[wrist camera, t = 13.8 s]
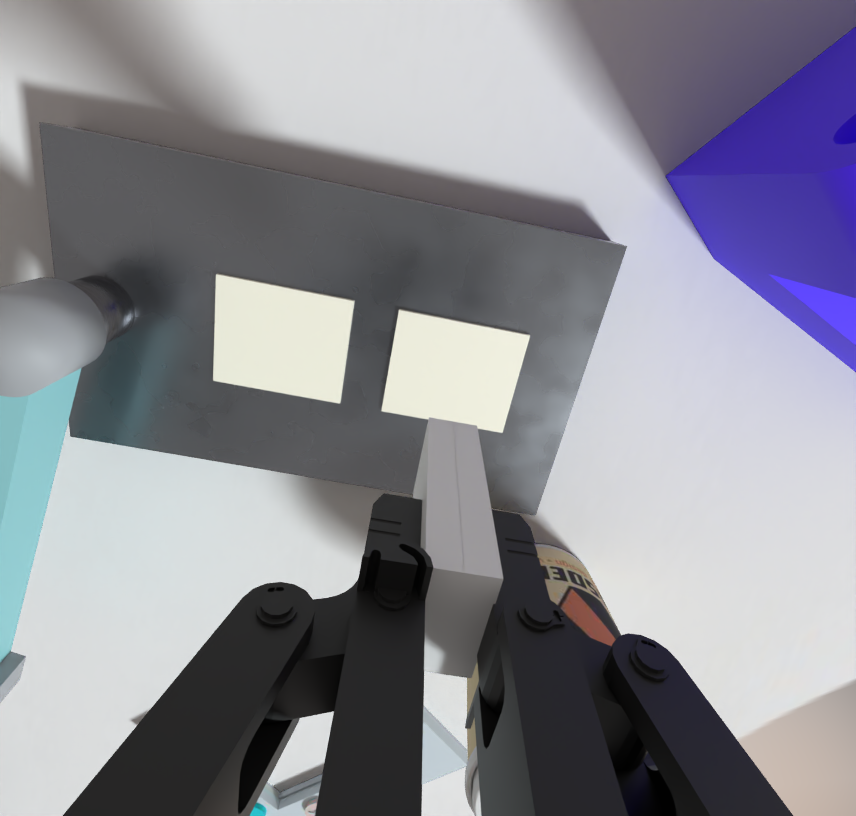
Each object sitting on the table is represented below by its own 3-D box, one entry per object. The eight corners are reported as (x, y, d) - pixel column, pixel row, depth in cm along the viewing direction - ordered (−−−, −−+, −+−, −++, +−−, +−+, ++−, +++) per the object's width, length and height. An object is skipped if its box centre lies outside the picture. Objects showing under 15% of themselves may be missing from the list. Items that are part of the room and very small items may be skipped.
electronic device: (340, 646, 32) (468, 772, 37) (346, 617, 34) (466, 740, 39) (134, 750, 36) (275, 850, 41) (151, 719, 38) (282, 818, 43)
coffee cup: (636, 573, 31) (746, 785, 20) (544, 665, 35) (596, 890, 24) (512, 505, 29) (559, 699, 18) (426, 609, 33) (423, 826, 22)
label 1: (214, 379, 24) (213, 380, 24) (217, 273, 22) (216, 274, 22) (340, 401, 25) (339, 403, 24) (354, 300, 23) (354, 301, 22)
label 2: (381, 409, 25) (381, 411, 25) (399, 309, 23) (399, 310, 23) (502, 431, 25) (502, 432, 25) (529, 334, 23) (530, 335, 23)
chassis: (94, 419, 27) (36, 460, 23) (72, 127, 22) (-9, 114, 18) (529, 494, 29) (544, 544, 25) (611, 241, 24) (648, 253, 19)
